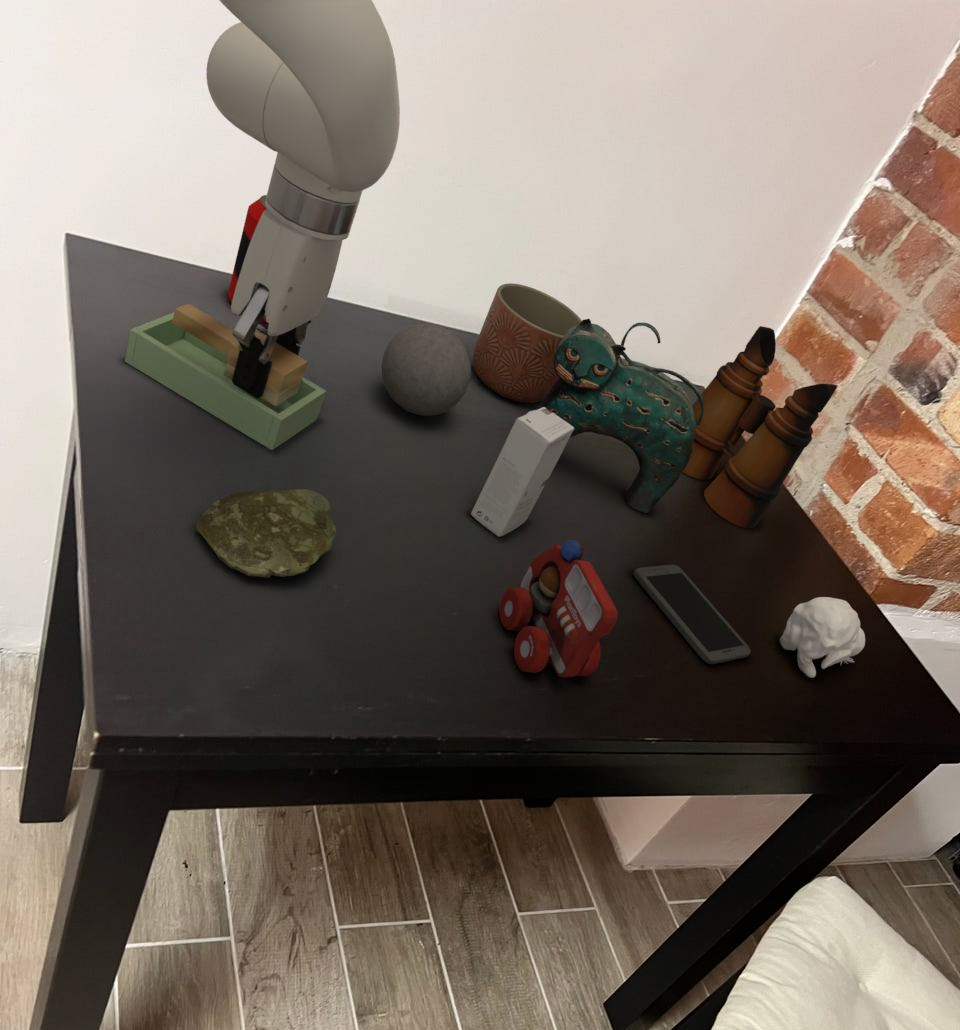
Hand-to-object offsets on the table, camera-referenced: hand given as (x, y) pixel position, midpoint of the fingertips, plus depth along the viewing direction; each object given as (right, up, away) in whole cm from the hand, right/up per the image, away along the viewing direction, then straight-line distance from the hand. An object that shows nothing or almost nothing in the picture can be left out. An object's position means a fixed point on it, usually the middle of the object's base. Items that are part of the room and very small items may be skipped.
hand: (261, 380), depth 90 cm
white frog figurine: (+59, -28, +13) cm, 66 cm away
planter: (+25, +8, +30) cm, 40 cm away
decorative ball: (+14, +1, +16) cm, 21 cm away
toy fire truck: (+27, -26, -6) cm, 38 cm away
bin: (-4, -1, +2) cm, 5 cm away
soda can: (-5, +14, +18) cm, 23 cm away
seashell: (+3, -18, -11) cm, 21 cm away
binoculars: (+53, -5, +34) cm, 63 cm away
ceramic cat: (+34, -6, +21) cm, 40 cm away
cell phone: (+44, -23, +8) cm, 51 cm away
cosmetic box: (+23, -13, +7) cm, 28 cm away
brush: (-3, +2, 0) cm, 3 cm away
